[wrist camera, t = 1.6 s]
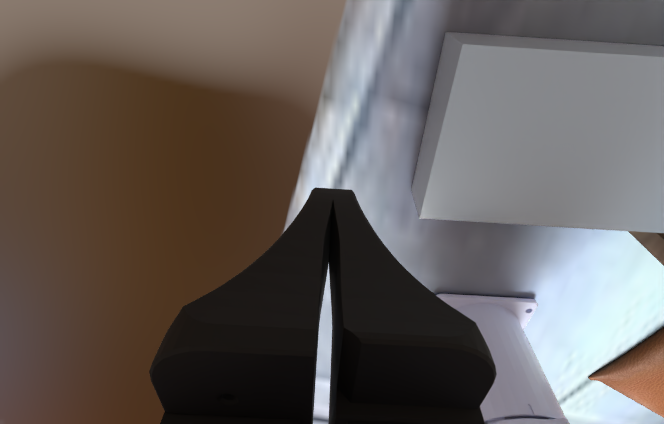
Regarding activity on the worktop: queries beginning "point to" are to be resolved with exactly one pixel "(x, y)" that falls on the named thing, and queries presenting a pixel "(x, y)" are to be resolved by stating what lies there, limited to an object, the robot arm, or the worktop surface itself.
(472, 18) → the worktop surface
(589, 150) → the flat grey cuboid
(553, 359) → the worktop surface
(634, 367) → the sunglasses case
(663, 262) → the overhang bridge
